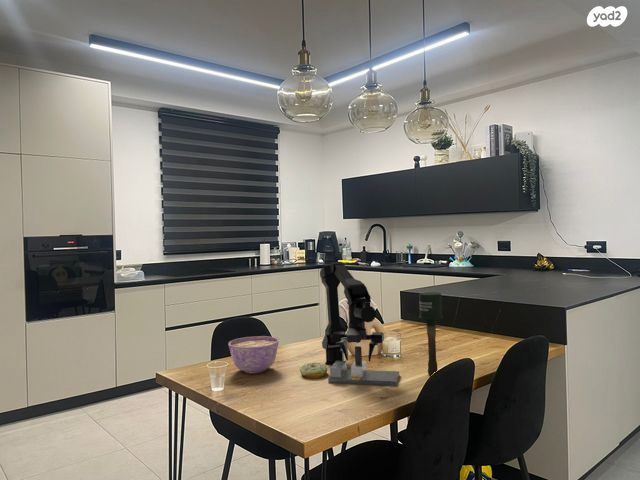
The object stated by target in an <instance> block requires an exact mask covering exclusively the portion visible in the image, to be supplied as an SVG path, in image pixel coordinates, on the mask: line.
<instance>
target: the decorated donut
mask: <svg viewBox="0 0 640 480" xmlns="http://www.w3.org/2000/svg"><path fill="white" fill-rule="evenodd" d="M299 372H300V374H301V375H302V376H303V377H305V378H306V379H319V378H323V377H324V376H325V375H326V374H327V373H328V366H327V364H325V363H321V362H316V361H315V362H308V363H304V364H302V365H301V366H299Z"/></svg>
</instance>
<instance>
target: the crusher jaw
mask: <svg viewBox="0 0 640 480" xmlns="http://www.w3.org/2000/svg"><path fill="white" fill-rule="evenodd" d="M362 354H363V353H362V346H361V345H360V346H357V345H356V346H354V362H353V363H352V365H351V366H350V370H351V377H352V378H363V376H364V375H365V373H366V370H367V361H366V360H363V359H362V358H363V356H362Z"/></svg>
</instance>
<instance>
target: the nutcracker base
mask: <svg viewBox="0 0 640 480" xmlns="http://www.w3.org/2000/svg"><path fill="white" fill-rule="evenodd" d="M347 362H348V361H347V360H344V361H336V362H335V363H334V364H331V366H330V367H329V377H328V378H327V381H328V383H329V384H347V385H349V384H351V385H371V386H390V387H391V386H393V387H394V386H395V387H396V386H397V383H398V381H399V378H400V371H399V370H398V371H395V370H371V369H370V370H369V369H368V370H367V369H366V373H365V375H364V376H363V378H352V377H351V369H348V367H347V364H348V363H347Z"/></svg>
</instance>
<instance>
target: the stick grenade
mask: <svg viewBox="0 0 640 480" xmlns="http://www.w3.org/2000/svg"><path fill="white" fill-rule="evenodd" d="M418 299H419V300H418V301H419V316H418V319H420V320H424V321H425V322H426V335H427V345H428V346H427V349H428V361H427V362H428V363H427V375H428V376H429V377H432V376H431V375H432V374H433V373H434V372H436V371H437V370H438V362H437V347H436V345H437V343H436V336H437V327H436V326H437V320H438V321H439V320H442V319H444V316H443V311H442V310H443V307H442V305H443V304H442V293H440V292H437V291H436V292H433V291H431V292H430V291H429V292H428V291H427V292H421V293H419V294H418ZM438 371H439V370H438Z"/></svg>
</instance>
